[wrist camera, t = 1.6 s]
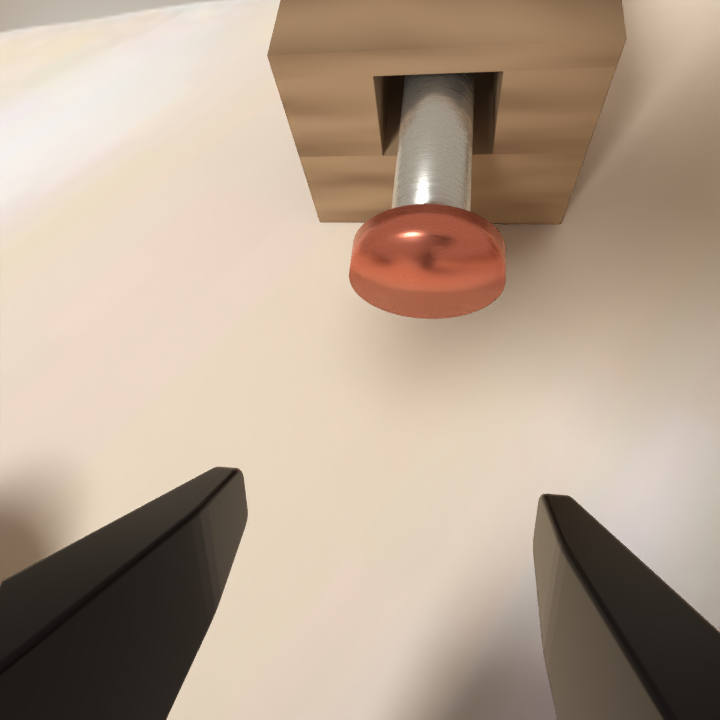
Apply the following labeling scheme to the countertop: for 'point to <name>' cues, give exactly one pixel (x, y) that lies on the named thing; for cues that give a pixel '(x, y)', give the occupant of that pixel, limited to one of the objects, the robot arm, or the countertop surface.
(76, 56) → the countertop surface
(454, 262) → the steel pin
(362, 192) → the hitch block
